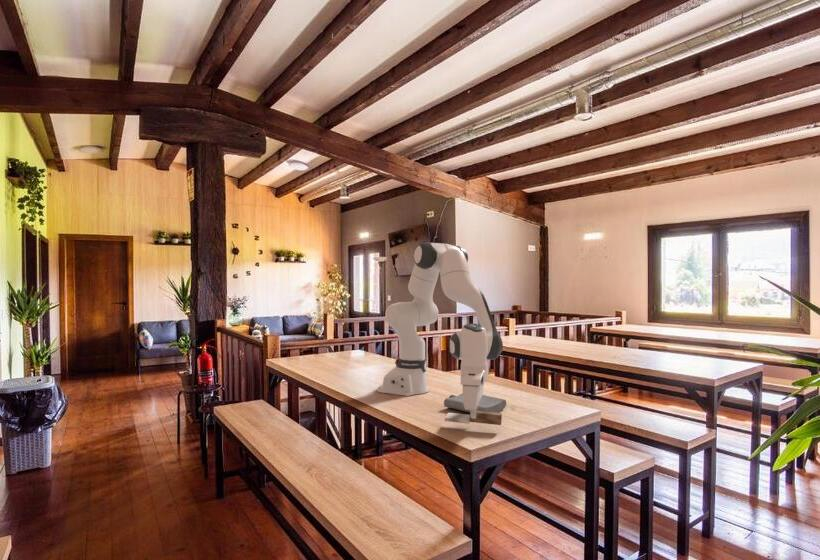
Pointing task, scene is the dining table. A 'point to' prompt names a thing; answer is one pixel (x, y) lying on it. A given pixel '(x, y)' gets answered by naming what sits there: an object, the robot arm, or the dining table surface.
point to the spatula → (481, 418)
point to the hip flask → (484, 405)
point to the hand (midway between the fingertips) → (474, 416)
